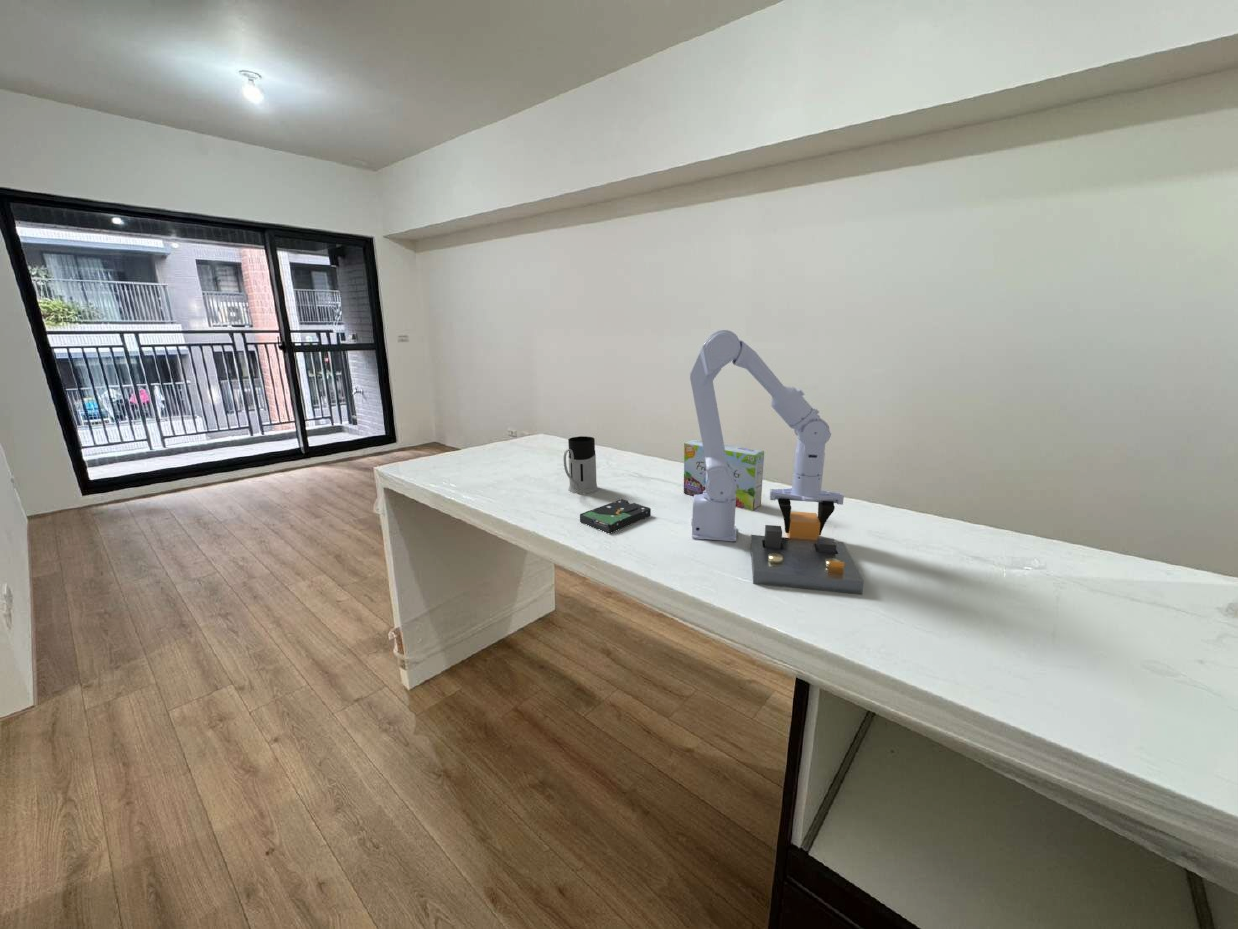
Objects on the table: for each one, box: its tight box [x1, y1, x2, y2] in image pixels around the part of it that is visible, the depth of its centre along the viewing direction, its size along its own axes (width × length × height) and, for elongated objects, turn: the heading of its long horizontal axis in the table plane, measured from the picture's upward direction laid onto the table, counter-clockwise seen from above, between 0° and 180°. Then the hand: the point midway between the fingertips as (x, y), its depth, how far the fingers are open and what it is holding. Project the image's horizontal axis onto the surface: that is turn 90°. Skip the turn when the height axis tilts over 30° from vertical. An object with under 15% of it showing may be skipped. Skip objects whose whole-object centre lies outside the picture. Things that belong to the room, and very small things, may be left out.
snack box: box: [683, 439, 765, 512], centre depth 126 cm, size 21×6×15 cm, turn 49°
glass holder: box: [563, 435, 599, 495], centre depth 134 cm, size 9×14×15 cm, turn 156°
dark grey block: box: [816, 537, 837, 554], centre depth 92 cm, size 3×3×4 cm
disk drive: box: [579, 498, 652, 534], centre depth 115 cm, size 10×3×15 cm
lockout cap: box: [786, 511, 820, 540], centre depth 102 cm, size 6×6×5 cm
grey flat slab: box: [750, 534, 865, 595], centre depth 90 cm, size 18×16×4 cm
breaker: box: [764, 524, 783, 549], centre depth 94 cm, size 3×3×4 cm
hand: (802, 532), depth 103 cm, fingers closed on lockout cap, 6 cm apart
